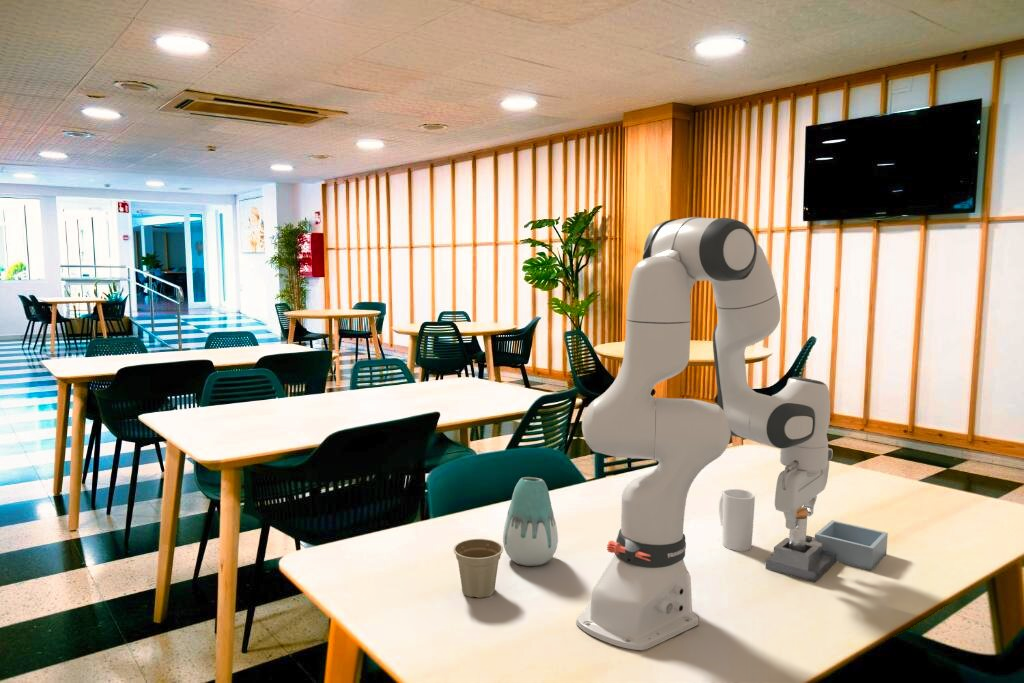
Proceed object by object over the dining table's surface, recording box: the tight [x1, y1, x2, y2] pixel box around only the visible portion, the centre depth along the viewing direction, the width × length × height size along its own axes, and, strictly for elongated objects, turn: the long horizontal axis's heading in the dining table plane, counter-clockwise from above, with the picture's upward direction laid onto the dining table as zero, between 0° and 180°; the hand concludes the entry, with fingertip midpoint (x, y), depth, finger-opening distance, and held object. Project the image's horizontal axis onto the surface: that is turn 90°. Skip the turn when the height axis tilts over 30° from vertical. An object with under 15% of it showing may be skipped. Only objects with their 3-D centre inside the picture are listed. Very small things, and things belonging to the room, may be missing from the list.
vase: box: [502, 476, 559, 567], centre depth 150 cm, size 12×12×18 cm
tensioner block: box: [765, 535, 837, 583], centre depth 149 cm, size 13×10×5 cm
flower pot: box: [453, 538, 504, 599], centre depth 136 cm, size 9×9×9 cm
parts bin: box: [814, 519, 889, 572], centre depth 155 cm, size 12×12×5 cm
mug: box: [718, 488, 756, 552], centre depth 160 cm, size 10×7×12 cm, turn 20°
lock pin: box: [788, 506, 808, 553], centre depth 146 cm, size 3×3×11 cm
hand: (799, 521), depth 146 cm, fingers open, 8 cm apart
